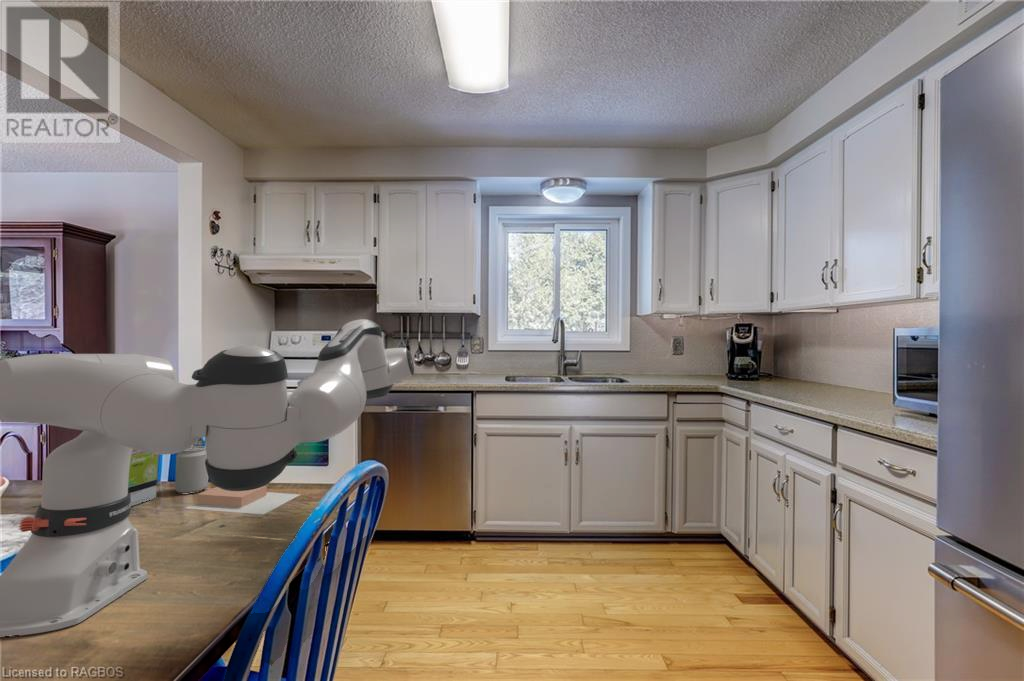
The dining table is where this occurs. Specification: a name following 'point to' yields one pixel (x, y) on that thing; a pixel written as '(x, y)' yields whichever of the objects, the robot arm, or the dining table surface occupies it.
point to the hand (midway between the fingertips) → (300, 383)
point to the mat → (252, 504)
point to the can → (191, 470)
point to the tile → (230, 497)
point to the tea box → (142, 476)
